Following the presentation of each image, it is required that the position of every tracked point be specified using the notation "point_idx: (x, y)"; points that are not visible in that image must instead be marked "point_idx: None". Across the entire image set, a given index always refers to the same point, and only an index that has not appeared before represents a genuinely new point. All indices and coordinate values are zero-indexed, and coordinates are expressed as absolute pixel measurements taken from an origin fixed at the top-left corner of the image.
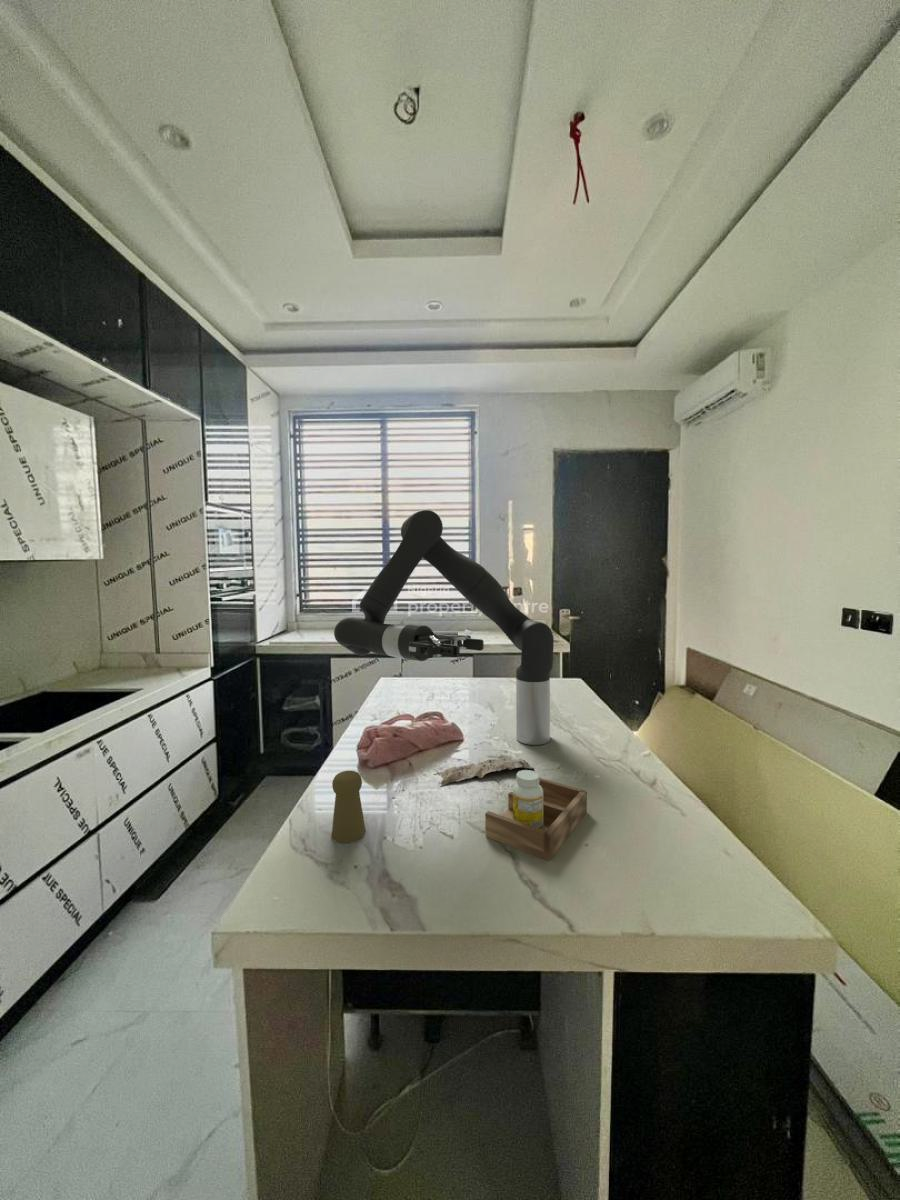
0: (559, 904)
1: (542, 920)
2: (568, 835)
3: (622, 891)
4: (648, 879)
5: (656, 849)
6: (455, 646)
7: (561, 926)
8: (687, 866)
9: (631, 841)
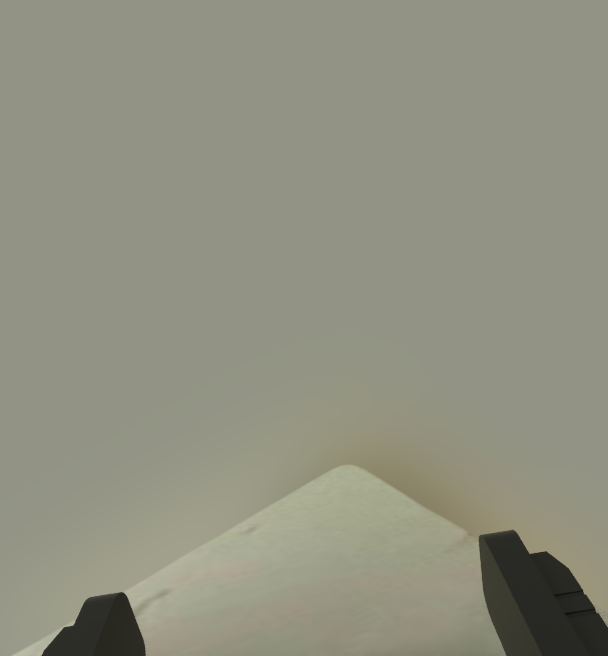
0: None
1: None
2: None
3: (431, 580)
4: (377, 569)
5: (296, 586)
6: (517, 541)
7: None
8: (312, 548)
9: (296, 619)
